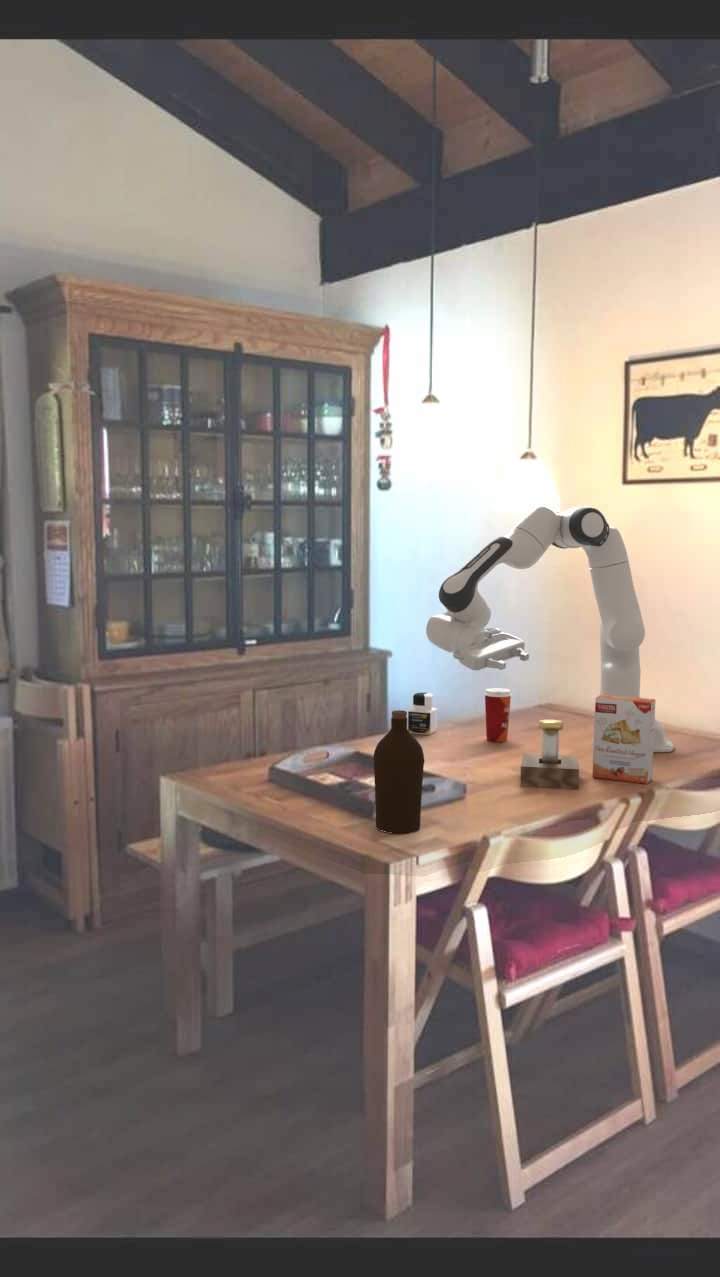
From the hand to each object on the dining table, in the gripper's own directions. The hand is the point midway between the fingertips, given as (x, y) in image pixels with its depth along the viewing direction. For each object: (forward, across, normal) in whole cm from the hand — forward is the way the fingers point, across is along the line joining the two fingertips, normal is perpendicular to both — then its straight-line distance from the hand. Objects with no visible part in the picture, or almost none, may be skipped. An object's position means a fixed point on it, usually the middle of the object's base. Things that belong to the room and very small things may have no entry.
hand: (515, 662), depth 268 cm
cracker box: (+30, +9, +24) cm, 40 cm away
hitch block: (+19, -6, +24) cm, 31 cm away
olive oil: (+20, -62, +16) cm, 67 cm away
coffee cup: (-19, +21, +38) cm, 47 cm away
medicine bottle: (-41, +12, +41) cm, 59 cm away
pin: (+19, -6, +24) cm, 31 cm away
